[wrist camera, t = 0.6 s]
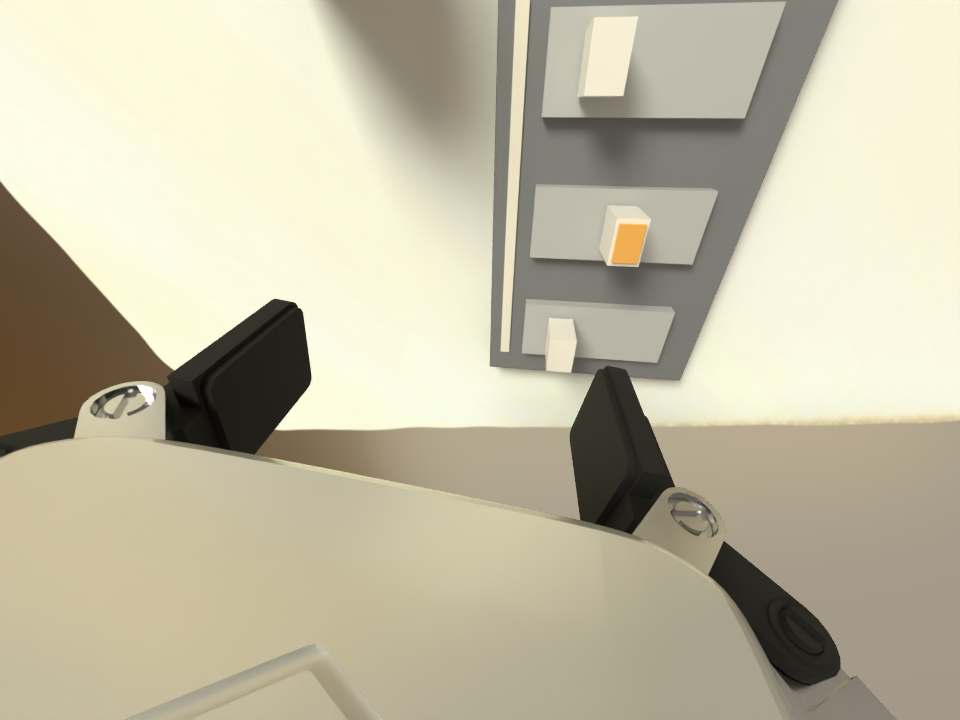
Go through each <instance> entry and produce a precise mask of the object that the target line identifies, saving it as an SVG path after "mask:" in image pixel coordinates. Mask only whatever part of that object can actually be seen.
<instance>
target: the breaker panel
mask: <svg viewBox="0 0 960 720" xmlns="http://www.w3.org/2000/svg"><path fill="white" fill-rule="evenodd" d="M837 2H838V0H498V40H497V83H496V126H495V169H494V212H493V255H492V298H491V341H490V366H492V367H505V368H519V369H532V370H545V371H546V360H545V343H546V335H547V328H548V320H549V318H560V319H573V323H574V328H575V334H576V339H577V344H576V349H575V354H574V360H573V365H572V370H571V372H572V373H586V374H596V372H597V371H598V370H599V369H604V368H605V367H606V366H612V367H617V368H622V369H626V371H627V372H628V375H629V377H639V378H653V379H666V380H680V379H681V376H682V374H683V371H684V369H685V367H686V364H687V362H688V359H689V357H690V355H691V352H692V350H693V347H694V345H695V343H696V340H697V338H698V335H699V333H700V331H701V328H702V326H703V323H704V321H705V319H706V316H707V314H708V311H709V309H710V307H711V304H712V302H713V299H714V297H715V295H716V292H717V290H718V287H719V285H720V283H721V280H722V278H723V275H724V273H725V271H726V268H727V266H728V263H729V261H730V259H731V256H732V254H733V251H734V249H735V247H736V244H737V242H738V239H739V237H740V235H741V232H742V230H743V227H744V225H745V223H746V220H747V218H748V215H749V213H750V211H751V208H752V206H753V203H754V201H755V199H756V196H757V194H758V191H759V189H760V187H761V184H762V182H763V179H764V177H765V175H766V172H767V170H768V167H769V165H770V163H771V160H772V158H773V155H774V153H775V151H776V148H777V146H778V143H779V141H780V139H781V136H782V134H783V131H784V129H785V127H786V124H787V122H788V119H789V117H790V115H791V112H792V110H793V107H794V105H795V103H796V100H797V98H798V95H799V93H800V91H801V88H802V86H803V83H804V81H805V79H806V76H807V74H808V71H809V69H810V67H811V64H812V62H813V59H814V57H815V55H816V52H817V50H818V47H819V45H820V43H821V40H822V38H823V35H824V33H825V31H826V28H827V26H828V23H829V21H830V19H831V16H832V14H833V11H834V9H835V7H836V4H837ZM630 16H638V21H637V26H636V31H635V37H634V42H633V47H632V52H631V58H630V63H629V68H628V74H627V79H626V84H625V90H624V95H623V96H619V97H577V95H578V87H579V79H580V72H581V64H582V56H583V48H584V40H585V33H586V29H587V28H588V26H589V25H590V23H591V22H592V20H593V19H594V17H630ZM607 205H616V206H638V207H639V208H640V209H641V210H642V211H643V212H644V213H645V214H646V215H647V216H648V217H649V218H650V219H651V221H650V225H649V229H648V233H647V236H646V240H645V244H644V248H643V251H642V255H641V259H640V263H639V266H638V267H628V266H607V265H606V262H605V260H604V258H603V256H602V254H601V252H600V250H599V246H600V241H601V236H602V231H603V226H604V221H605V216H606V210H607Z"/></svg>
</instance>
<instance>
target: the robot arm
mask: <svg viewBox="0 0 960 720" xmlns="http://www.w3.org/2000/svg"><path fill="white" fill-rule="evenodd" d="M167 378H168V380H169V383H168V384H167V385H165V386H164V387H161V386H160V385H159V384H156V383H152V382H145V381H137V382H128V383H123V384H119V385H115V386H112V387H110V388H107V389H105V390H102V391H100V392H99V393H97V394H95V395H94V396H92V397H90V398H89V399H88V400H87V401H86V402H85V403H84V404H83V406H82V408H81V410H80V413H79V417H77V418H73V419H69V420H65V421H61V422H57V423H53V424H49V425H44V426H40V427H36V428H33V429H28V430H25V431H21V432H16V433H12V434H8V435H4V436H0V720H896V718H895V717H894V716H893V715H892V714H891V713H890V712H889V711H888V710H887V709H886V707H885V706H884V705H883V704H882V703H881V702H880V701H879V700H878V699H877V698H876V696H875V695H874V694H873V693H872V692H871V691H870V690H869V689H868V688H867V687H866V685H865V684H864V683H863V682H862V681H861V680H860V679H859V678H858V677H857V676H854V677H852V678H849V676H848V675H847V674H846V673H845V672H844V671H843V670H842V669H841V668H840V656H839V653H838V650H837V647H836V645H835V643H834V641H833V640H832V638H831V636H830V634H829V633H828V631H827V630H826V629H825V628H824V626H823V625H822V624H821V623H820V621H819V620H818V619H817V618H816V617H815V616H814V615H813V614H812V613H811V612H809V611H808V610H807V609H806V608H805V607H804V606H803V605H802V604H800V603H799V602H798V601H797V600H795V599H794V598H793V597H792V596H791V595H789V594H788V593H787V592H786V591H784V590H783V589H782V588H781V587H780V586H778V585H777V584H776V583H775V582H774V581H772V580H771V579H770V578H769V577H767V576H766V575H765V574H764V573H763V572H761V571H760V570H759V569H758V568H756V567H755V566H754V565H753V564H752V563H750V562H749V561H748V560H747V559H745V558H744V557H743V556H742V555H741V554H739V553H738V552H737V551H736V550H734V549H733V548H732V547H731V546H730V545H728V544H727V543H726V542H725V541H724V539H725V534H726V529H725V525H724V522H723V520H722V518H721V516H720V515H719V513H718V512H717V511H716V510H715V508H714V507H713V506H712V505H711V504H710V503H709V502H708V501H706V500H705V499H704V498H703V497H701V496H700V495H698V494H696V493H695V492H693V491H690V490H687V489H685V488H680V487H675V485H674V483H673V480H672V478H671V475H670V473H669V470H668V468H667V465H666V463H665V460H664V458H663V455H662V453H661V451H660V448H659V445H658V443H657V440H656V438H655V435H654V433H653V430H652V428H651V425H650V423H649V420H648V419H647V417H646V416H644V413H643V411H642V408H641V406H640V403H639V401H638V398H637V395H636V393H635V390H634V388H633V385H632V383H631V380H630V378H629V375H628V372H627V371H626V369H622V368H617V367H612V366H606V367H605V368H604V369H599V370H598V371H597V372H596V375H595V377H594V379H593V381H592V384H591V386H590V388H589V390H588V392H587V395H586V397H585V399H584V401H583V404H582V406H581V408H580V410H579V413H578V415H577V417H576V419H575V421H574V424H573V426H572V428H571V432H570V445H571V452H572V460H573V467H574V475H575V482H576V490H577V497H578V505H579V513H580V520H576V519H572V518H567V517H562V516H558V515H553V514H548V513H544V512H540V511H535V510H530V509H526V508H521V507H516V506H511V505H506V504H501V503H496V502H491V501H486V500H481V499H476V498H471V497H467V496H462V495H456V494H452V493H447V492H442V491H437V490H431V489H427V488H422V487H417V486H412V485H407V484H402V483H397V482H392V481H387V480H381V479H377V478H371V477H367V476H362V475H356V474H351V473H346V472H341V471H336V470H331V469H326V468H321V467H315V466H310V465H304V464H300V463H294V462H289V461H284V460H279V459H274V458H269V457H263V456H258V455H254V454H255V453H256V452H257V451H258V449H259V448H260V447H261V446H262V444H263V443H264V442H265V441H266V439H267V438H268V437H269V436H270V434H271V433H272V432H273V431H274V429H275V428H276V427H277V426H278V424H279V423H280V422H281V421H282V419H283V418H284V417H285V416H286V414H287V413H288V412H289V411H290V410H291V408H292V407H293V406H294V405H295V403H296V402H297V401H298V400H299V398H300V397H301V396H302V395H303V393H304V392H305V391H306V390H307V388H308V387H309V385H310V383H311V369H310V362H309V354H308V347H307V340H306V332H305V325H304V317H303V312H302V310H301V309H300V308H298V306H297V305H296V303H294V302H289V301H284V300H279V299H273V300H271V301H270V302H269V303H267V304H266V305H265V306H263V307H262V308H260V309H259V310H258V311H256V312H255V313H254V314H252V315H251V316H249V317H248V318H247V319H245V320H244V321H243V322H241V323H240V324H238V325H237V326H236V327H234V328H233V329H232V330H230V331H229V332H227V333H226V334H225V335H223V336H222V337H221V338H219V339H218V340H216V341H215V342H214V343H212V344H211V345H209V346H208V347H207V348H205V349H204V350H203V351H201V352H200V353H198V354H197V355H196V356H194V357H193V358H192V359H190V360H189V361H187V362H186V363H185V364H183V365H182V366H181V367H179V368H178V369H176V370H175V371H174V372H172V373H171V374H170V375H168V376H167Z"/></svg>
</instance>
